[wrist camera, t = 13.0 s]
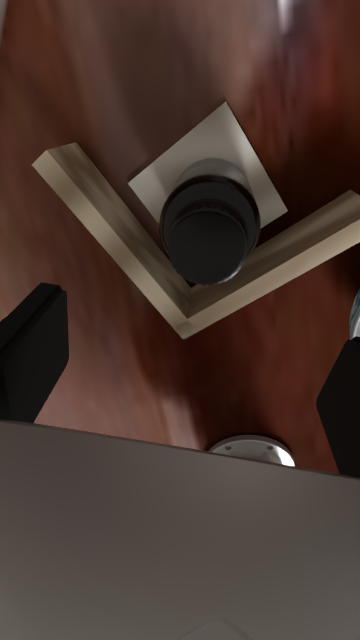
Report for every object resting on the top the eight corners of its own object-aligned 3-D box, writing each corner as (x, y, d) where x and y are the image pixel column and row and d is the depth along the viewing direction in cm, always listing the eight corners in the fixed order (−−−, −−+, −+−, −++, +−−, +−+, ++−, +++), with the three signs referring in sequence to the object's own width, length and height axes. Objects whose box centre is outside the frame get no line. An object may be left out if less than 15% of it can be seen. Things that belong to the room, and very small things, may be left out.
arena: (357, 205, 29) (387, 226, 24) (187, 307, 36) (183, 339, 31) (249, -27, 22) (259, -66, 17) (63, 154, 29) (31, 164, 24)
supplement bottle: (196, 139, 27) (185, 159, 17) (266, 183, 28) (296, 226, 18) (158, 215, 31) (131, 268, 20) (223, 251, 32) (227, 318, 22)
